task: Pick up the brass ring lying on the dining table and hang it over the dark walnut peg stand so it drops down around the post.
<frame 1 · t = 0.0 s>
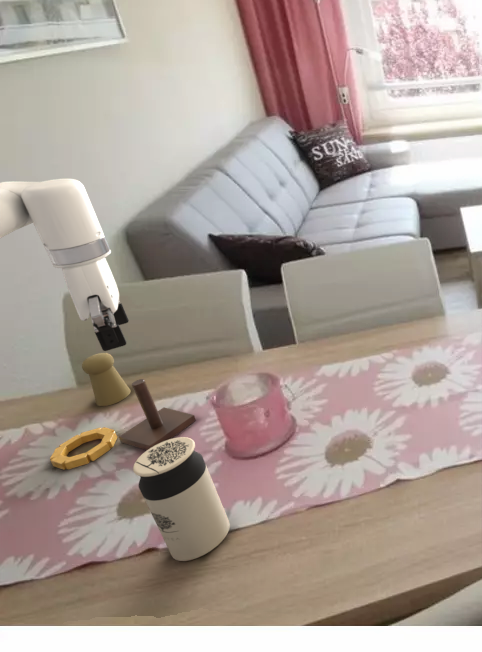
hand: (117, 335, 98), 26 cm above the table, tool pointing down, fingers open, 9 cm apart
brass ring: (86, 450, 106), on the table
peg stand: (159, 431, 111), on the table
cork: (114, 397, 122), on the table
travel mug: (202, 540, 87), on the table
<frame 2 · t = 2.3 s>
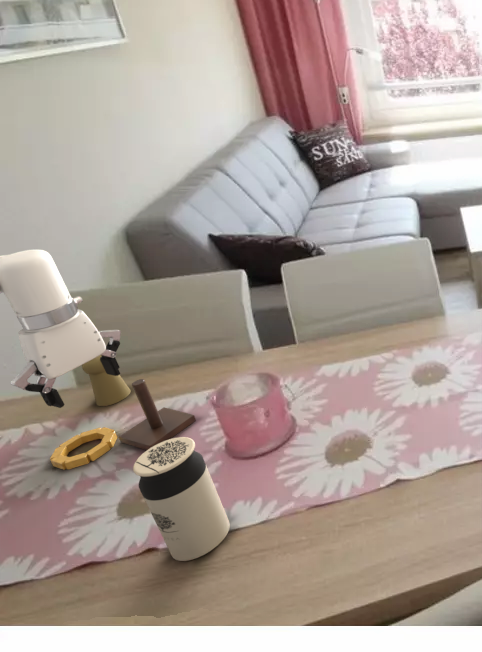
hand: (86, 389, 105), 12 cm above the table, tool pointing down, fingers open, 9 cm apart
nothing on the table moved.
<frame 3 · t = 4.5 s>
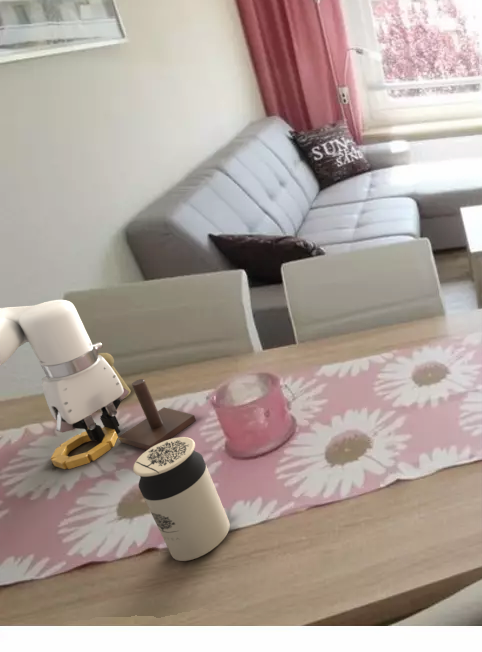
hand: (106, 435, 110), 0 cm above the table, tool pointing down, fingers closed on brass ring, 1 cm apart
brass ring: (87, 450, 107), on the table, touching gripper
everything else where it was.
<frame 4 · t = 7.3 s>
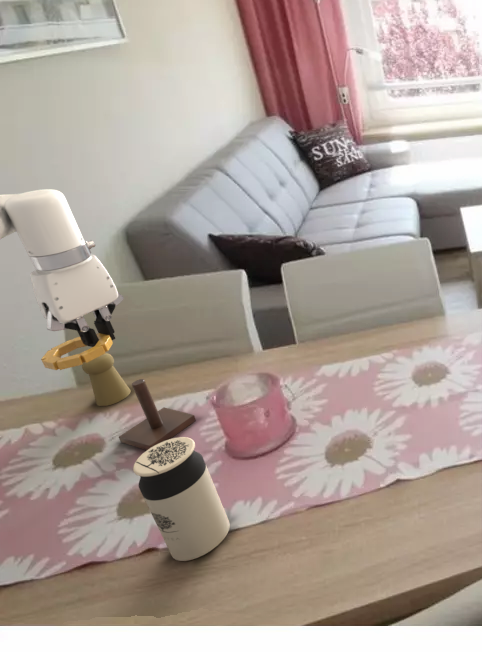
hand: (101, 341, 104), 21 cm above the table, tool pointing down, fingers closed on brass ring
brass ring: (80, 354, 101), point 21 cm above the table, touching gripper
everything else where it was.
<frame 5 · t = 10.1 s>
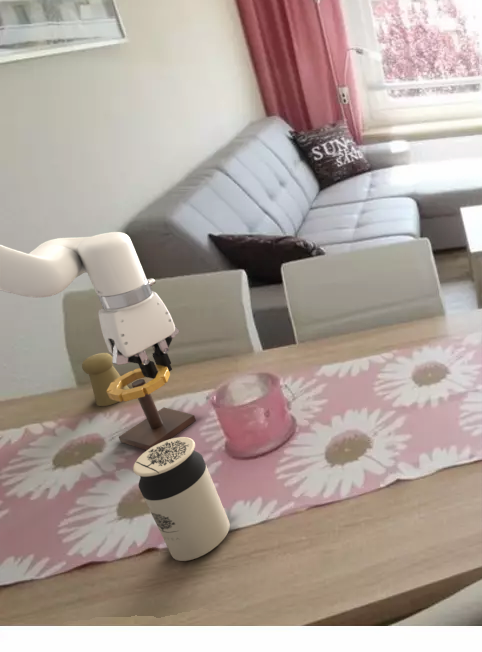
hand: (159, 373, 110), 12 cm above the table, tool pointing down, fingers closed on brass ring
brass ring: (140, 385, 107), point 12 cm above the table, touching gripper
everything else where it was.
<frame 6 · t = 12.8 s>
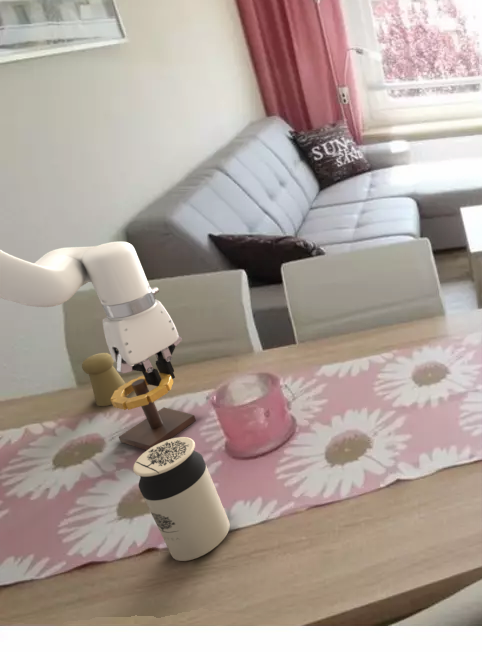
hand: (162, 380, 111), 10 cm above the table, tool pointing down, fingers closed on brass ring
brass ring: (144, 393, 107), point 10 cm above the table, touching gripper
everything else where it was.
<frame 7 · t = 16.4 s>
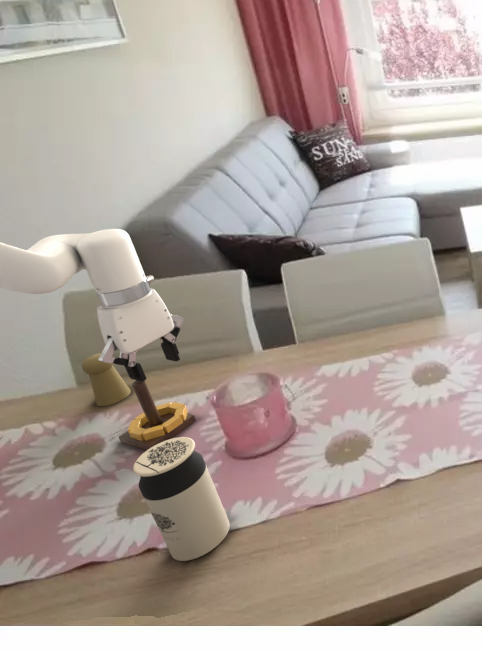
hand: (156, 368, 109), 13 cm above the table, tool pointing down, fingers open, 6 cm apart
brass ring: (159, 423, 111), point 1 cm above the table, touching peg stand
everything else where it was.
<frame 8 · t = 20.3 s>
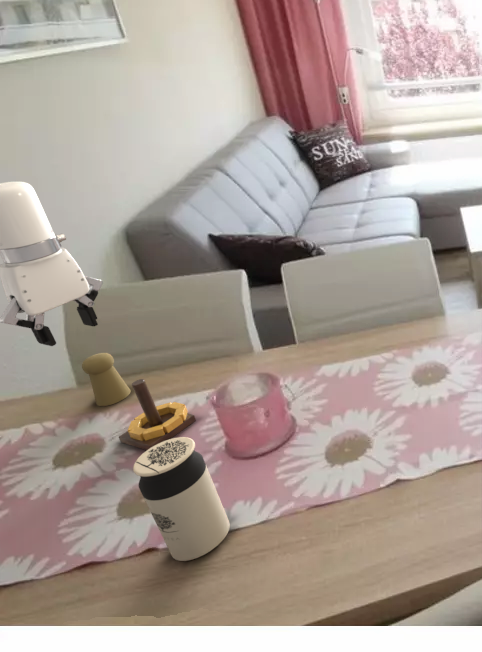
hand: (70, 333, 103), 23 cm above the table, tool pointing down, fingers open, 6 cm apart
nothing on the table moved.
at the end: brass ring 0.6 cm off-centre on the peg stand, point 1.5 cm above the peg stand's base; the gripper is holding nothing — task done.
